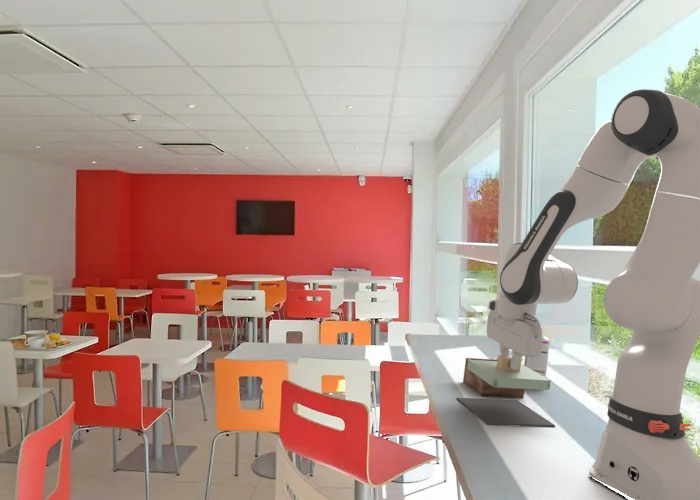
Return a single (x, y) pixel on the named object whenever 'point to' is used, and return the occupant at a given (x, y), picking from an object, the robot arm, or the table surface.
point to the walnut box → (488, 385)
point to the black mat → (504, 412)
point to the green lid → (508, 374)
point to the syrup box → (539, 359)
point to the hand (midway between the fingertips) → (508, 366)
